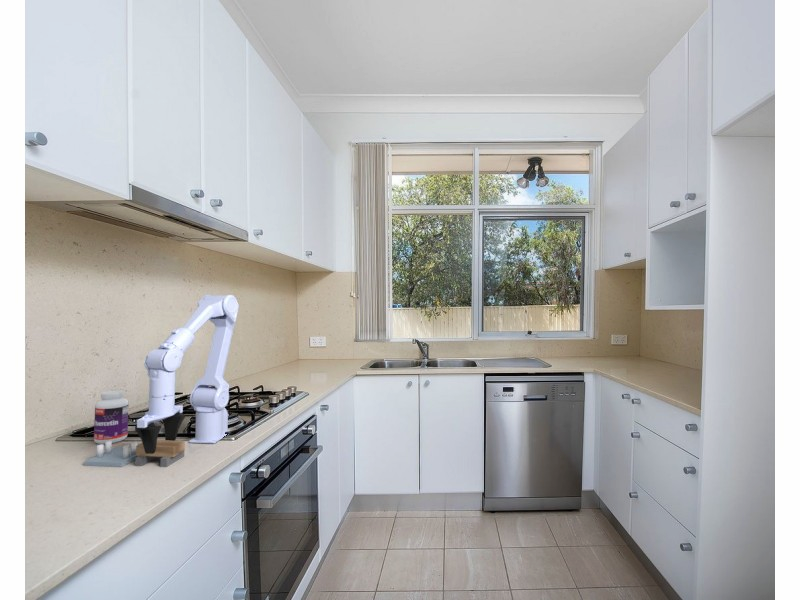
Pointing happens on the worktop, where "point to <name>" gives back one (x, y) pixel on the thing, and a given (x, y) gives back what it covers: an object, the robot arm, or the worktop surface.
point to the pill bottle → (111, 417)
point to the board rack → (164, 461)
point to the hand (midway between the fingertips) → (160, 447)
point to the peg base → (113, 455)
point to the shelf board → (163, 448)
